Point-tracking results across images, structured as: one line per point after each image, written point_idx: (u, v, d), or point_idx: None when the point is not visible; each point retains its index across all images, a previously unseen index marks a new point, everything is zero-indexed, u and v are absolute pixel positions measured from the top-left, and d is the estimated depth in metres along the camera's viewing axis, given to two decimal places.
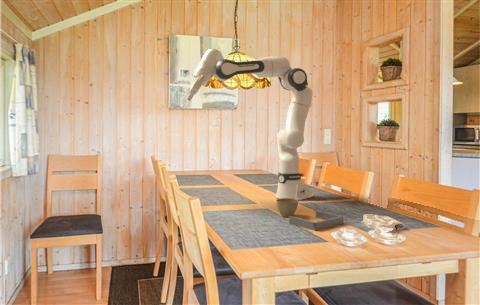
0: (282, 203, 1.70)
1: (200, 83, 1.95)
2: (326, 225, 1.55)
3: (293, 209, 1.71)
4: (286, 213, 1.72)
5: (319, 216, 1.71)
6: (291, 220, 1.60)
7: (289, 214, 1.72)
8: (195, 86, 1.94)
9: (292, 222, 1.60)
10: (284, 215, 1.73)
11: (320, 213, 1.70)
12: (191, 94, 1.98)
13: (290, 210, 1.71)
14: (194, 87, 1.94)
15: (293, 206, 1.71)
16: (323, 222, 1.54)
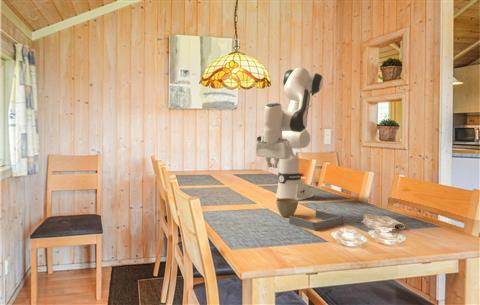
0: (282, 203, 1.70)
1: (289, 149, 1.74)
2: (326, 225, 1.55)
3: (293, 209, 1.71)
4: (286, 213, 1.72)
5: (319, 216, 1.71)
6: (291, 220, 1.60)
7: (289, 214, 1.72)
8: (287, 155, 1.73)
9: (292, 222, 1.60)
10: (284, 215, 1.73)
11: (320, 213, 1.70)
12: (276, 162, 1.79)
13: (290, 210, 1.71)
14: (286, 156, 1.73)
15: (293, 206, 1.71)
16: (323, 222, 1.54)
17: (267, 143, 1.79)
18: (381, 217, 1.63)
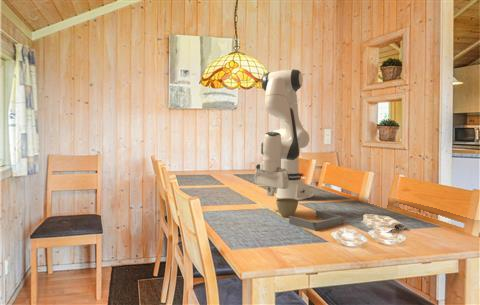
0: (282, 203, 1.70)
1: (287, 178, 1.74)
2: (326, 225, 1.55)
3: (293, 209, 1.71)
4: (286, 213, 1.72)
5: (319, 216, 1.71)
6: (291, 220, 1.60)
7: (289, 214, 1.72)
8: (285, 184, 1.73)
9: (292, 222, 1.60)
10: (284, 215, 1.73)
11: (320, 213, 1.70)
12: (273, 191, 1.80)
13: (290, 210, 1.71)
14: (285, 186, 1.73)
15: (293, 206, 1.71)
16: (323, 222, 1.54)
17: (266, 172, 1.80)
18: (381, 217, 1.63)
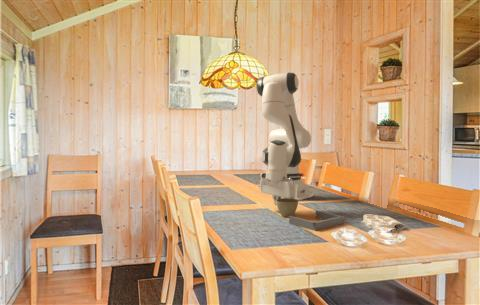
0: (282, 203, 1.70)
1: (293, 188, 1.72)
2: (326, 225, 1.55)
3: (293, 209, 1.71)
4: (286, 213, 1.72)
5: (319, 216, 1.71)
6: (291, 220, 1.60)
7: (289, 214, 1.72)
8: (291, 194, 1.71)
9: (292, 222, 1.60)
10: (284, 215, 1.73)
11: (320, 213, 1.70)
12: None
13: (290, 210, 1.71)
14: (291, 196, 1.71)
15: (293, 206, 1.71)
16: (323, 222, 1.54)
17: (272, 181, 1.77)
18: (381, 217, 1.63)
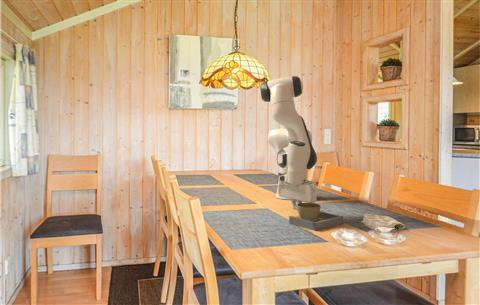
0: (304, 208, 1.60)
1: (315, 191, 1.62)
2: (326, 225, 1.55)
3: (315, 215, 1.61)
4: (308, 219, 1.61)
5: (319, 216, 1.71)
6: (291, 220, 1.60)
7: (310, 220, 1.62)
8: (313, 198, 1.61)
9: (292, 222, 1.60)
10: None
11: (320, 213, 1.70)
12: None
13: (312, 216, 1.60)
14: (313, 200, 1.61)
15: (315, 211, 1.60)
16: (323, 222, 1.54)
17: (291, 184, 1.67)
18: (381, 217, 1.63)
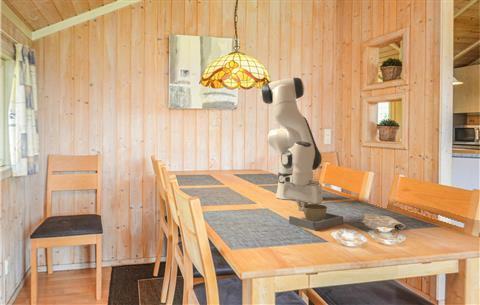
0: (310, 210, 1.58)
1: (321, 193, 1.60)
2: (326, 225, 1.55)
3: (322, 216, 1.58)
4: (314, 220, 1.59)
5: None
6: (291, 220, 1.60)
7: None
8: (319, 199, 1.59)
9: (292, 222, 1.60)
10: None
11: None
12: None
13: (318, 217, 1.58)
14: (319, 201, 1.59)
15: (322, 213, 1.58)
16: (323, 222, 1.54)
17: (297, 185, 1.65)
18: (381, 217, 1.63)
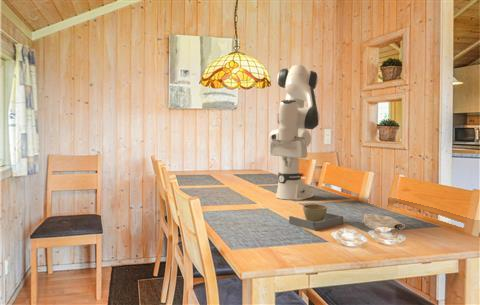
0: (310, 210, 1.58)
1: (305, 147, 1.66)
2: (326, 225, 1.55)
3: (322, 216, 1.58)
4: (314, 220, 1.59)
5: None
6: (291, 220, 1.60)
7: None
8: (304, 153, 1.65)
9: (292, 222, 1.60)
10: None
11: None
12: (290, 161, 1.72)
13: (319, 217, 1.58)
14: (303, 155, 1.65)
15: (322, 213, 1.58)
16: (323, 222, 1.54)
17: (282, 141, 1.71)
18: (381, 217, 1.63)
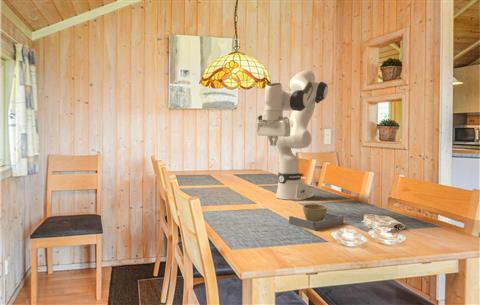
0: (310, 210, 1.58)
1: (289, 126, 1.79)
2: (326, 225, 1.55)
3: (322, 216, 1.58)
4: (314, 220, 1.59)
5: None
6: (291, 220, 1.60)
7: None
8: (287, 132, 1.78)
9: (292, 222, 1.60)
10: None
11: None
12: (275, 140, 1.84)
13: (319, 217, 1.58)
14: (287, 133, 1.77)
15: (322, 213, 1.58)
16: (323, 222, 1.54)
17: (268, 121, 1.84)
18: (381, 217, 1.63)
